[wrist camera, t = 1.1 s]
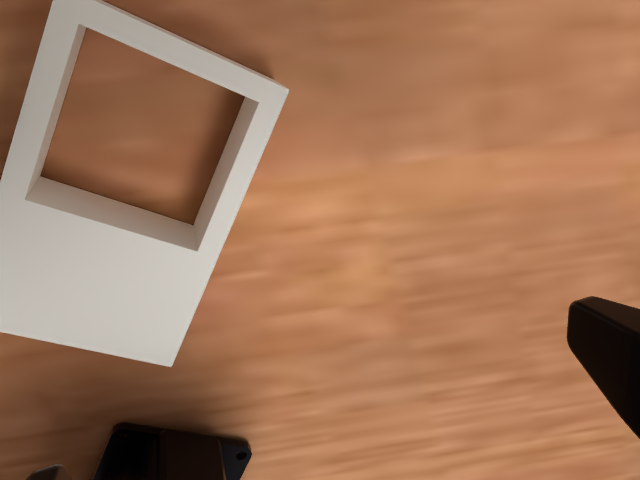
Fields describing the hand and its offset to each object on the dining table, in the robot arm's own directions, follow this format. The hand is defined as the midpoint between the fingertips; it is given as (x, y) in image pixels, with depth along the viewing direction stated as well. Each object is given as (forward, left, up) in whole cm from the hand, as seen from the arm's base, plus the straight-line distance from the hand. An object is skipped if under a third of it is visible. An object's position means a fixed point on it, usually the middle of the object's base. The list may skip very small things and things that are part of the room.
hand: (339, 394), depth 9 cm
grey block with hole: (-2, +4, -13) cm, 13 cm away
